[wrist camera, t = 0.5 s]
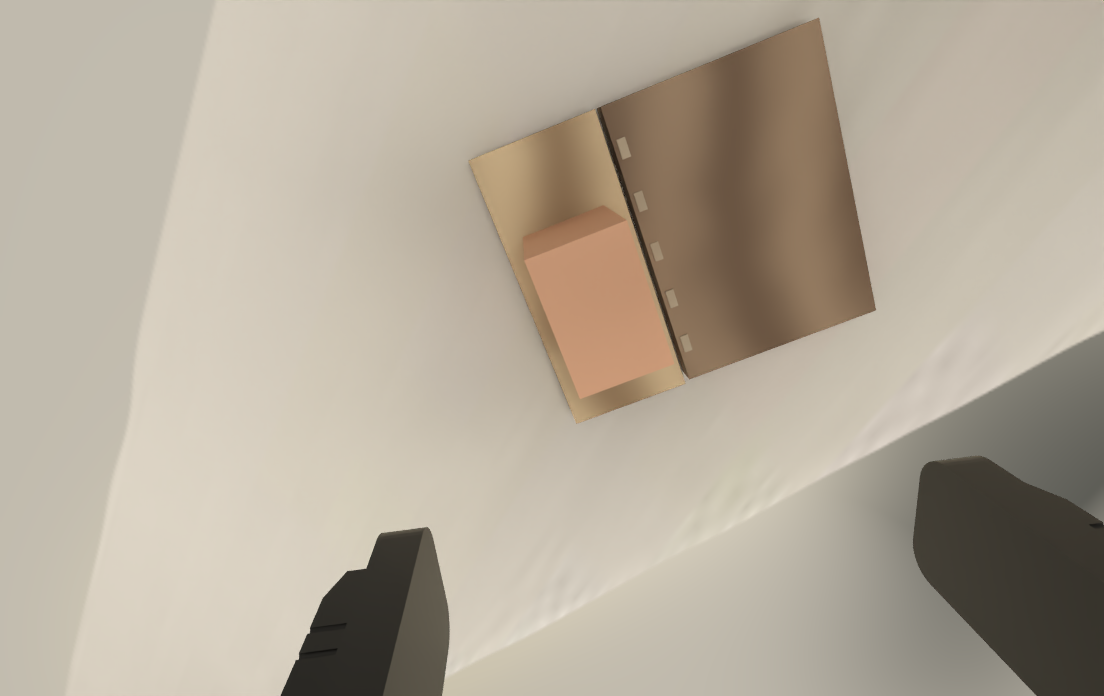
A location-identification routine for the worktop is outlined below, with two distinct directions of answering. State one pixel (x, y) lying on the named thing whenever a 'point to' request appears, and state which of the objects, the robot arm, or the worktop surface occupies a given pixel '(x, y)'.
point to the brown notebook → (743, 200)
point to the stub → (580, 265)
